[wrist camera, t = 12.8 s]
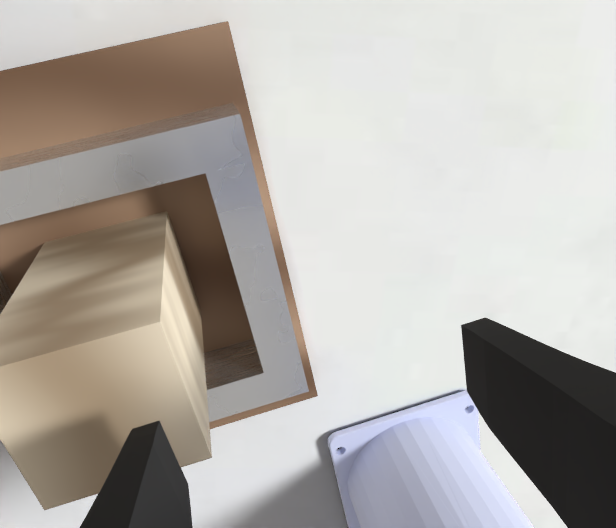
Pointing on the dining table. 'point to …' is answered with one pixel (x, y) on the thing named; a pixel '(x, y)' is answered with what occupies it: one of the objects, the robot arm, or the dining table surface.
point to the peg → (101, 357)
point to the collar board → (160, 194)
